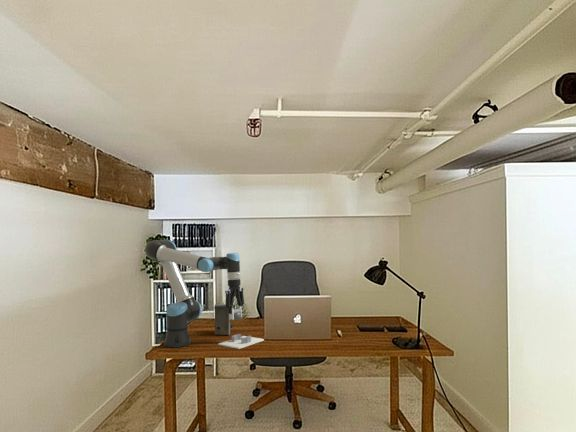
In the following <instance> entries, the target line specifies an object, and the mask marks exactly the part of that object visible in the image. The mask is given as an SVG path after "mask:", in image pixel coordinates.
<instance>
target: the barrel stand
mask: <svg viewBox="0 0 576 432" xmlns="http://www.w3.org/2000/svg"><path fill="white" fill-rule="evenodd" d="M263 341H265V339H264V338H259V337H254V336H252V335H248V336H247V335H246V336H245V335H242V334H241V333H238V334H233V335H232V336H231V339H229V340H225V341H222V342H219V343H218V344H217V346H220V347H225V348H232V349H237V350H240V349H243V348H246V347H249V346H252V345H254V344H258V343H261V342H263Z"/></svg>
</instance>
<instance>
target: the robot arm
mask: <svg viewBox="0 0 576 432" xmlns="http://www.w3.org/2000/svg"><path fill="white" fill-rule="evenodd" d="M144 252H145V255H146V257H147V258H149V259H150V260H155V261H157V262H158V264H159V265H161V267H162V268H163V270H164V273H165V275H166V277H167V280H168V282H169V286H170V287H171V289H172V292H173V295H174V297H175V300H176V302H174V303H170V304H168V305H167V307H166V312H165V313H166V334H165V339H164V341H163V346H164V347H165V346H166V347H165V348H171V347H175V348H183V347H187V346H189V344H190V345H191V344H192V343H191V341H192V339H191V336H190V333H189V330H188V323H190V322H194V321H196V320H197V319H199V318H200V316H201V315H202V311H203V309H202V308H203V307H202V305H201V303H200V302H199V301H197V300H195V296H194V295H191V294H190V292H189V288H188V287H187V284H186V282H185V280H184V278H183V274H182V273H181V270H180V268H179V265H181V266H185V267H189V268H192V269H193V268H194V269H196V270H199V271H201V272H202V273H209V272H212V271H219V270H226V271H227V276H226V277H227V287H228V289H227V290H225V304H226V308H228V309H229V319H230V320H231V319H232V320H231V321H234V320H233V319H234V311H233V310H234V307H233V306H234V300H236V303H237V306H236V309H240V311H241V318H243V315H242V313H243V312H242V311H243V306H244V305H245V299H244V287H241V267H240V266H241V265H240V261H241V260H240V254H239V253H238V252H228V253H226V256H212V257H205V256H202V255H197V254H193V253H190V252H185V251H182V250H177V246H176V244H175V243H174V242H173V241H172V240H169V239H158V240H157V239H154V240H150V241H149V242H148V243H146V245H145V247H144ZM182 346H183V347H182Z"/></svg>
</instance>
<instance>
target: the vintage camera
mask: <svg viewBox="0 0 576 432" xmlns="http://www.w3.org/2000/svg"><path fill="white" fill-rule="evenodd" d="M213 309H214V335H215V336H230V335H231V329H232V328H233V327H234V326H235V325H234V324H233V323H231V319H229V309H228V308H226V303H215V304H214V306H213Z"/></svg>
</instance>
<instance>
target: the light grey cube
mask: <svg viewBox="0 0 576 432" xmlns="http://www.w3.org/2000/svg"><path fill="white" fill-rule="evenodd" d="M233 311H234V319H233V320H232V319H230V321H238V320H241V319H242V318H243V317H241V311H240V309H237V308H235V309H234V308H233Z"/></svg>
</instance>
